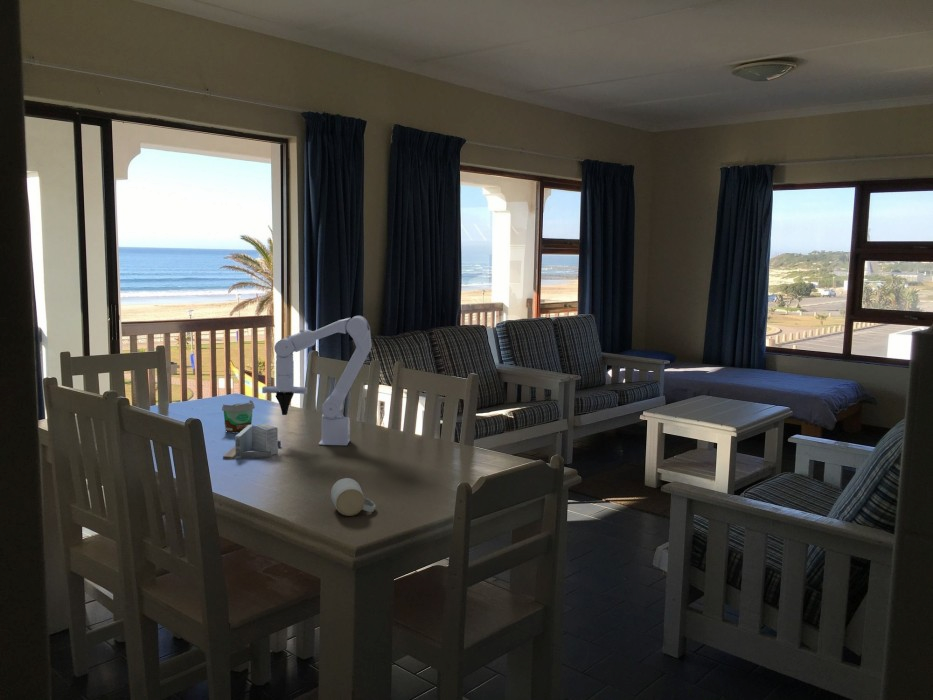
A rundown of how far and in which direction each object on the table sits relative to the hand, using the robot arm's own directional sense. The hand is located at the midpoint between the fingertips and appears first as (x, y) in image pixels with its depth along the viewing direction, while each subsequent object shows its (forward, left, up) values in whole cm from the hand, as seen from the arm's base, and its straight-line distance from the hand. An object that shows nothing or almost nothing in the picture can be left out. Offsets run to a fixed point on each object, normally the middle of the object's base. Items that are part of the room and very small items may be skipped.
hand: (284, 414), depth 252 cm
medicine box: (+3, +15, -10) cm, 18 cm away
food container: (+18, -14, -10) cm, 25 cm away
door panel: (+10, +14, -9) cm, 19 cm away
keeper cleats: (+5, +14, -9) cm, 17 cm away
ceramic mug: (-31, +68, -10) cm, 76 cm away
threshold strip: (+12, +14, -9) cm, 21 cm away
